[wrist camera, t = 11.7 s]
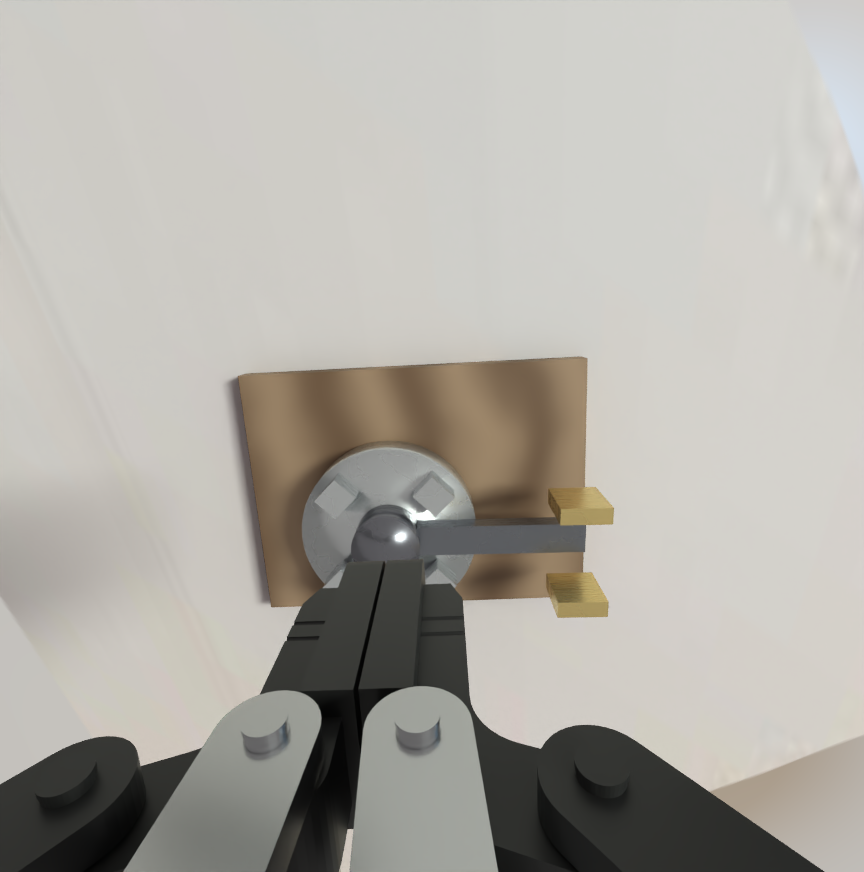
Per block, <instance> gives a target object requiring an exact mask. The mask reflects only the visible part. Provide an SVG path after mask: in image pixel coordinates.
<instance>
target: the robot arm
mask: <svg viewBox="0 0 864 872" xmlns="http://www.w3.org/2000/svg"><path fill="white" fill-rule="evenodd" d="M347 829H354V830H353V840H352V851H351V861H350V872H824V871H823V870H821V869H820V868H818V867H817V866H815V865H814V864H812V863H811V862H810V861H808V860H807V859H805V858H804V857H802V856H801V855H800V854H798V853H797V852H795V851H794V850H792V849H791V848H789V847H788V846H787V845H785V844H784V843H782V842H781V841H779V840H778V839H776V838H775V837H773V836H772V835H771V834H769V833H768V832H766V831H765V830H763V829H762V828H760V827H759V826H758V825H756V824H755V823H753V822H752V821H750V820H749V819H748V818H746V817H745V816H743V815H742V814H740V813H739V812H737V811H736V810H735V809H733V808H732V807H730V806H729V805H727V804H726V803H724V802H723V801H722V800H720V799H718V798H717V797H716V796H714V795H713V794H711V793H710V792H709V791H707V790H706V789H704V788H703V787H701V786H700V785H699V784H697V783H696V782H694V781H693V780H691V779H690V778H688V777H687V776H686V775H684V774H683V773H681V772H680V771H678V770H677V769H675V768H674V767H673V766H671V765H670V764H668V763H667V762H665V761H664V760H662V759H661V758H660V757H658V756H657V755H655V754H654V753H652V752H651V751H649V750H648V749H647V748H645V747H644V746H642V745H641V744H639V743H638V742H636V741H635V740H633V739H632V738H630V737H628V736H627V735H624V734H622V733H620V732H618V731H615V730H612V729H609V728H606V727H601V726H595V725H577V726H572V727H568V728H565V729H563V730H560V731H558V732H557V733H555V734H553V735H552V736H551V737H550V738H549V739H548V740H547V741H546V742H545V744H544V745H543V747H542V748H541V749H539V748H535V747H531V746H528V745H524V744H520V743H517V742H513V741H510V740H508V739H506V738H503V737H501V736H499V735H498V734H496V733H494V732H493V731H491V730H490V729H489V728H488V727H486V726H485V725H484V724H483V723H482V722H481V720H480V719H479V718H478V717H477V715H476V714H475V712H474V710H473V708H472V705H471V702H470V696H469V682H468V668H467V654H466V641H465V627H464V613H463V599H462V597H461V596H460V594H459V593H458V592H457V591H456V590H455V588H454V587H453V586H452V585H451V583H448V584H426V582H425V567H424V560H423V559H412V560H388V561H387V562H385V561H363V562H348V563H347V565H346V568H345V570H344V573H343V575H342V578H341V581H340V583H339V586H338V588H321V589H319V590H318V591H317V592H316V593H315V594H314V595H313V596H311V597H310V598H309V599H308V600H307V601H306V602H304V603H303V605H302V607H301V609H300V611H299V613H298V615H297V617H296V619H295V622H294V625H293V626H292V628H291V630H290V632H289V634H288V636H287V641H285V643H284V645H283V647H282V649H281V651H280V653H279V655H278V657H277V659H276V661H275V664H274V666H273V668H272V670H271V672H270V674H269V676H268V678H267V680H266V683H265V685H264V687H263V689H262V691H261V693H260V695H258V696H255V697H253V698H250V699H248V700H246V701H245V702H243V703H241V704H239V705H238V706H236V707H235V708H234V709H232V710H231V711H230V712H229V713H227V714H226V715H225V716H224V717H223V718H222V719H221V721H220V722H219V723H218V724H217V726H216V727H215V729H214V730H213V732H212V733H211V735H210V736H209V738H208V740H207V741H206V743H205V744H204V746H203V747H202V748H200V749H197V750H194V751H191V752H189V753H185V754H182V755H178V756H175V757H171V758H168V759H164V760H161V761H157V762H154V763H151V764H147V765H144V766H140V762H139V757H138V753H137V750H136V748H135V746H134V745H133V744H132V743H131V742H130V741H128V740H126V739H124V738H120V737H110V736H106V737H97V738H93V739H88V740H85V741H82V742H79V743H76V744H73V745H71V746H69V747H66V748H64V749H62V750H60V751H58V752H56V753H54V754H52V755H51V756H49V757H47V758H45V759H44V760H42V761H40V762H39V763H37V764H35V765H33V766H31V767H30V768H28V769H26V770H25V771H23V772H21V773H20V774H18V775H16V776H14V777H12V778H11V779H9V780H7V781H6V782H4V783H2V784H0V872H341V870H340V865H341V862H342V856H343V851H344V845H345V840H346V834H347Z"/></svg>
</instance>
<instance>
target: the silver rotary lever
mask: <svg viewBox="0 0 864 872" xmlns="http://www.w3.org/2000/svg"><path fill="white" fill-rule="evenodd" d="M548 504H549V506H550V508H551V510H552V511H553V513H554V515H555V517H538V518H495V519H476V518H475V512H474V506H473V502H472V498H471V495H470V493H469V490H468V488H467V486H466V484H465V482H464V480H463V479H462V477H461V476H460V475H459V473H458V472H457V471H456V469H455V468H454V467H453V466H452V465H451V464H450V463H449V462H447V461H446V460H445V459H444V458H442V457H441V456H440V455H438V454H436V453H435V452H433V451H431V450H429V449H427V448H425V447H422V446H420V445H416V444H413V443H409V442H403V441H378V442H373V443H369V444H365V445H362V446H359V447H357V448H355V449H353V450H351V451H349V452H347V453H346V454H344V455H343V456H341V457H340V458H338V459H337V460H336V461H335V462H334V463H333V464H332V465H331V466H330V467H329V468H328V470H327V471H326V472H325V473H324V475H323V476H322V477H321V479H320V480H319V481H318V483H317V484H316V485H315V487H314V489H313V490H312V492H311V494H310V496H309V498H308V500H307V503H306V505H305V509H304V513H303V519H302V539H303V544H304V549H305V552H306V555H307V558H308V560H309V562H310V564H311V566H312V568H313V569H314V571H315V573H316V574H317V576H318V577H319V578H320V579H321V580H322V582H323V583H324V586H323V588H338V586H339V583H340V581H341V578H342V575H343V573H344V570H345V568H346V565H347V563H348V562H363V561H385V562H387V561H388V560H412V559H423V560H424V567H425V582H426V584H448V583H451V585H452V586H453V587H454V588H455V587H456V586H457V584H458V583H459V582H460V580H461V579H462V578H463V576H464V575H465V573H466V572H467V570H468V568H469V566H470V564H471V561H472V559H473V556H474V554H515V553H562V552H585V538H586V525H605V524H613V514H614V508H613V506H612V505H611V504H610V503H609V502H608V501H607V500H606V498H605V497H604V496H603V495H602V494H601V493H600V492H599V490H598V489H597V488H596V487H582V488H548ZM546 588H547V591H548V594H549V596H550V599H551V602H552V604H553V607H554V610H555V612H556V615H557V617H558V618H566V617H608V600H607V598H606V597H605V595H604V593H603V592H602V590H601V588H600V586H599V585H598V583H597V581H596V579H595V578H594V576H593V574H592V572H590V573H546Z"/></svg>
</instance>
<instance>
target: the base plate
mask: <svg viewBox="0 0 864 872" xmlns="http://www.w3.org/2000/svg"><path fill="white" fill-rule="evenodd" d="M238 381H239V388H240V395H241V401H242V408H243V415H244V422H245V429H246V436H247V443H248V450H249V457H250V463H251V470H252V477H253V484H254V491H255V498H256V505H257V512H258V519H259V525H260V532H261V539H262V546H263V553H264V560H265V567H266V574H267V581H268V588H269V594H270V601H271V607H294V606H302V605H303V603H304V602H306V601H307V600H308V599H309V598H310V597H311V596H313V595H314V594H315V593H316V592H317V591H318V590H319V589H321V588H323V586H324V583H323V582H322V580H321V579H320V578H319V577H318V576H317V574H316V573H315V571H314V569H313V568H312V566H311V564H310V562H309V560H308V558H307V555H306V552H305V549H304V544H303V539H302V519H303V513H304V509H305V505H306V503H307V500H308V498H309V496H310V494H311V492H312V490H313V489H314V487H315V485H316V484H317V483H318V481H319V480H320V479H321V477H322V476H323V475H324V473H325V472H326V471H327V470H328V468H329V467H330V466H331V465H332V464H333V463H334V462H335V461H336V460H337V459H338V458H340V457H341V456H343V455H344V454H346V453H347V452H349V451H351V450H353V449H355V448H357V447H359V446H362V445H365V444H369V443H373V442H378V441H403V442H409V443H413V444H416V445H420V446H422V447H425V448H427V449H429V450H431V451H433V452H435V453H436V454H438V455H440V456H441V457H442V458H444V459H445V460H446V461H447V462H449V463H450V464H451V465H452V466H453V467H454V468H455V469H456V471H457V472H458V473H459V475H460V476H461V477H462V479H463V480H464V482H465V484H466V486H467V488H468V490H469V493H470V495H471V498H472V502H473V506H474V512H475V518H476V519H495V518H538V517H555V515H554V513H553V511H552V510H551V508H550V506H549V504H548V488H582V487H585V448H586V401H587V358H584V357H565V358H545V359H525V360H506V361H486V362H467V363H447V364H427V365H408V366H388V367H368V368H349V369H329V370H310V371H290V372H270V373H251V374H244V375H240V376H238ZM546 573H583V552H562V553H515V554H474V556H473V559H472V561H471V564H470V566H469V568H468V570H467V572H466V573H465V575H464V576H463V578H462V579H461V580H460V582H459V583H458V584H457V586H456V587H455V590H456V591H457V592H458V593H459V594H460V596H461V597H462V599H463V600H488V599H515V598H543V597H550V596H549V594H548V591H547V588H546Z"/></svg>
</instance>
